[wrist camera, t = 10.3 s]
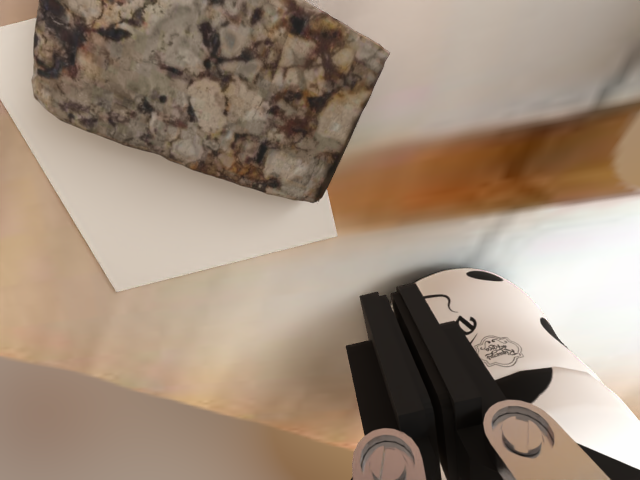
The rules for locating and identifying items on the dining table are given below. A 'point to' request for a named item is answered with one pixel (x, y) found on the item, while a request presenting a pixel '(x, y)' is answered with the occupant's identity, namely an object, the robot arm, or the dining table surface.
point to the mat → (147, 193)
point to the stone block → (211, 84)
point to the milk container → (532, 359)
